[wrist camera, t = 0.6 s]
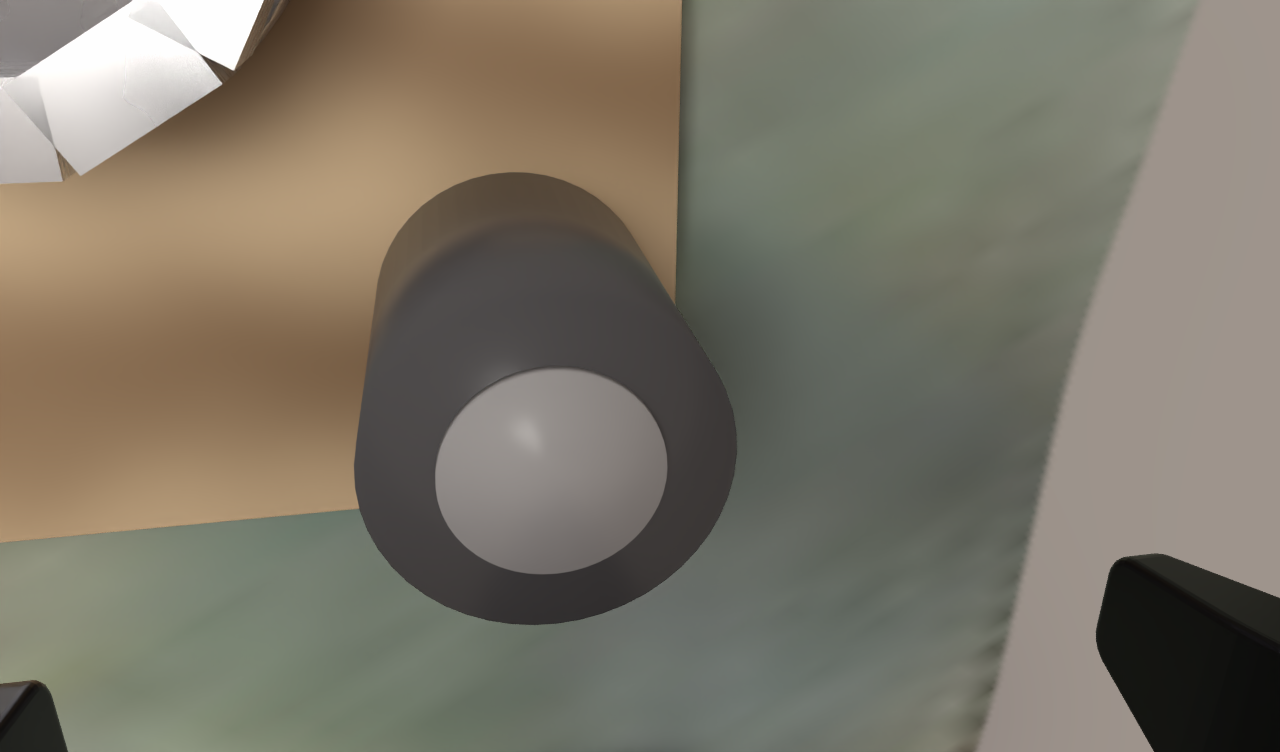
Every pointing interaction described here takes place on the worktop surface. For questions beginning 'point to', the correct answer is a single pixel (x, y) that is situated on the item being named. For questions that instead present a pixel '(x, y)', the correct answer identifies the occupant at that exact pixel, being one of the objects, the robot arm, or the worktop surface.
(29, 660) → the worktop surface
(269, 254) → the board
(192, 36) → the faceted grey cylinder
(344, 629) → the worktop surface
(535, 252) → the cap
